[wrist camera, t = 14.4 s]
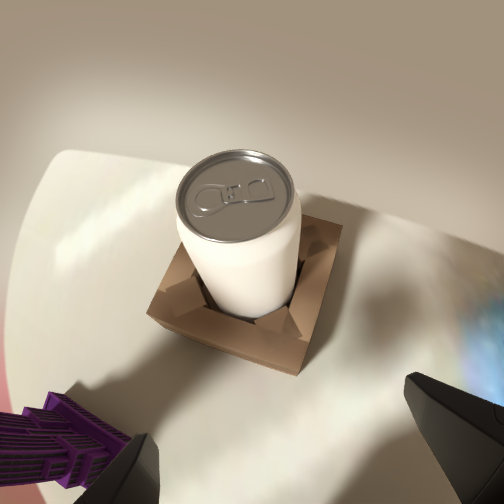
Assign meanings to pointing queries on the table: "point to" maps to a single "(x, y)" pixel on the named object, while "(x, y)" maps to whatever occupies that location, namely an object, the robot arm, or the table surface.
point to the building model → (56, 444)
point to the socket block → (265, 328)
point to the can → (241, 230)
